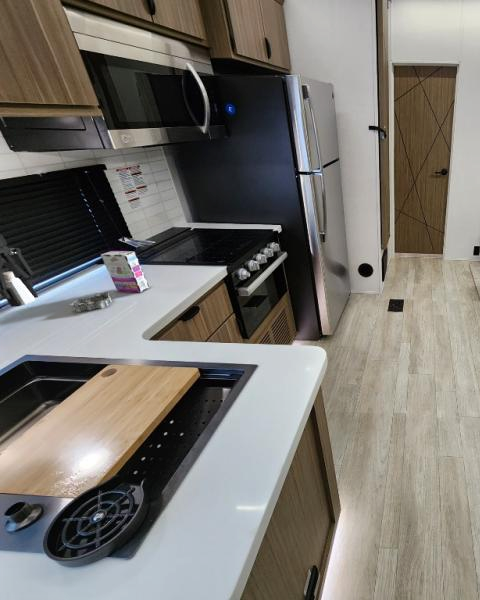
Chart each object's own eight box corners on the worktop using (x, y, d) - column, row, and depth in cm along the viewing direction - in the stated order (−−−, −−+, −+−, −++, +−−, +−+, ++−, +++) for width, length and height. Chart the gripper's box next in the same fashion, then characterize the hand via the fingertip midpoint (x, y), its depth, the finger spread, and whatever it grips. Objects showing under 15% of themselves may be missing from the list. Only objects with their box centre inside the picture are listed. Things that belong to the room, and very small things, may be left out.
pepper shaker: (14, 307, 110) (-6, 277, 105) (12, 302, 113) (-7, 273, 108) (36, 301, 114) (18, 272, 108) (34, 296, 117) (17, 268, 111)
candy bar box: (150, 287, 141) (135, 251, 133) (141, 292, 136) (125, 255, 128) (126, 286, 142) (110, 250, 134) (116, 291, 137) (99, 254, 130)
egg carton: (114, 300, 131) (110, 290, 129) (105, 309, 125) (101, 299, 123) (82, 303, 128) (77, 294, 126) (71, 313, 122) (66, 303, 120)
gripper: (-37, 245, 94) (10, 314, 105) (23, 227, 110) (59, 289, 121) (-65, 246, 94) (-15, 315, 105) (0, 227, 110) (37, 289, 121)
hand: (25, 301), depth 113 cm, fingers closed on pepper shaker, 5 cm apart
